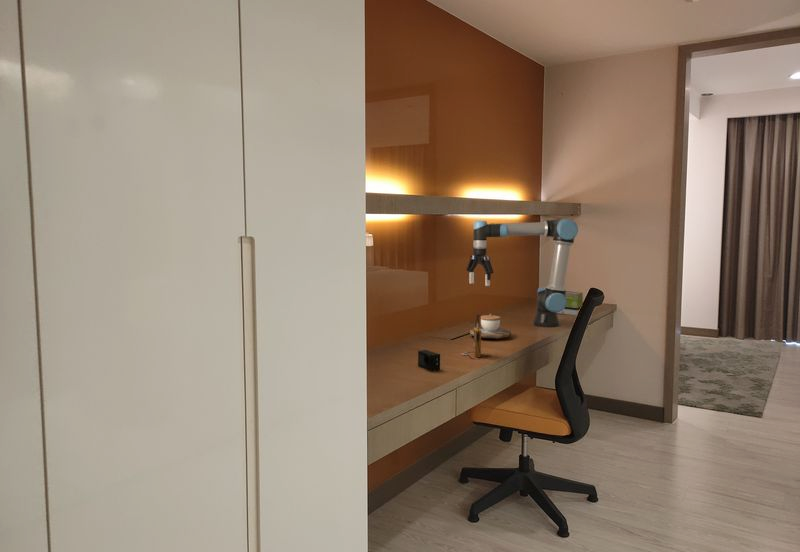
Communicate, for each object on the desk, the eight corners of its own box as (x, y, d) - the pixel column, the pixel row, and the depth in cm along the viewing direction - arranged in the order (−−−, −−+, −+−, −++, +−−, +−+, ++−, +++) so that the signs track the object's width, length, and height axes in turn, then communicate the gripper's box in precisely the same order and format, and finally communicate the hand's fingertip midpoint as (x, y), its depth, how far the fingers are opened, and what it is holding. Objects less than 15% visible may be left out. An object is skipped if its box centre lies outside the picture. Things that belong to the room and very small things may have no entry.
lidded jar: (499, 333, 328) (500, 315, 327) (479, 332, 330) (480, 315, 329) (500, 329, 338) (500, 312, 337) (480, 328, 340) (481, 311, 339)
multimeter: (458, 352, 299) (458, 311, 297) (478, 352, 298) (479, 311, 296) (460, 359, 284) (460, 316, 282) (481, 359, 284) (482, 317, 282)
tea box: (555, 313, 414) (556, 291, 412) (560, 311, 422) (561, 290, 420) (577, 315, 405) (578, 293, 404) (582, 313, 413) (583, 292, 412)
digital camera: (415, 366, 271) (415, 351, 270) (425, 364, 274) (425, 349, 273) (430, 371, 263) (430, 355, 262) (440, 369, 266) (440, 353, 265)
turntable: (491, 328, 349) (491, 325, 349) (519, 335, 331) (519, 331, 331) (461, 332, 337) (461, 329, 336) (489, 339, 319) (489, 336, 319)
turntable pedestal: (490, 334, 341) (490, 332, 341) (503, 337, 333) (503, 335, 333) (477, 336, 335) (477, 334, 335) (489, 339, 327) (489, 337, 327)
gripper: (460, 246, 359) (460, 282, 361) (490, 249, 339) (489, 287, 341) (470, 246, 363) (470, 281, 366) (500, 248, 343) (499, 286, 345)
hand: (479, 284), depth 353 cm, fingers open, 13 cm apart
